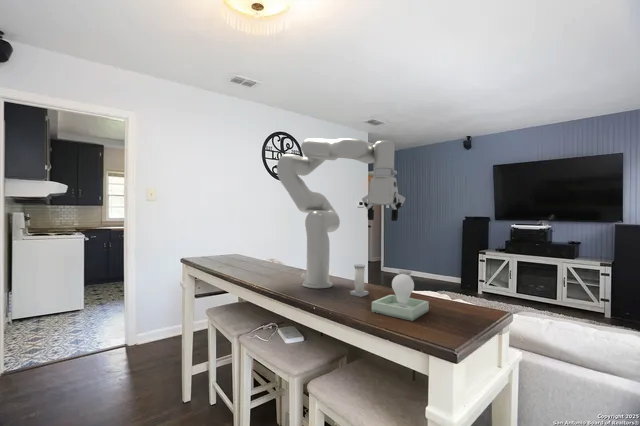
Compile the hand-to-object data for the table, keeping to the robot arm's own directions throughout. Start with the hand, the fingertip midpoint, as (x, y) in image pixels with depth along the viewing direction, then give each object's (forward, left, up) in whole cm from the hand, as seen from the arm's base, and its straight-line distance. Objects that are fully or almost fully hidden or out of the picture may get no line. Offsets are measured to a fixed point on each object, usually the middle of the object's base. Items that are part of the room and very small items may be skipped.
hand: (382, 220), depth 119 cm
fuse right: (+11, -4, -28) cm, 30 cm away
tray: (+14, -14, -28) cm, 34 cm away
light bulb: (+15, -15, -27) cm, 34 cm away
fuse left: (-7, -4, -28) cm, 29 cm away
